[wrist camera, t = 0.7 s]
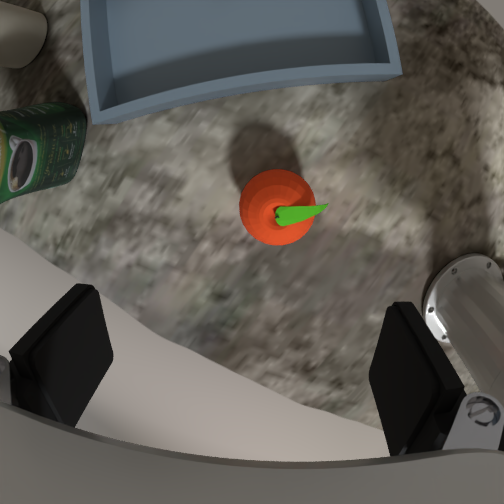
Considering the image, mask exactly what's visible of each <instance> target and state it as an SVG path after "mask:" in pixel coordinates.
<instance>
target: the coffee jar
mask: <svg viewBox="0 0 504 504" xmlns="http://www.w3.org/2000/svg"><path fill="white" fill-rule="evenodd" d="M86 130H87V122H86V118H85V116H84V114H83V112H82V111H81V110H80V109H79V108H77V107H75V106H73V105H70V104H67V103H61V102H51V103H43V104H37V105H32V106H27V107H23V108H18V109H13V110H7V111H0V204H1V203H3V202H5V201H7V200H10V199H12V198H15V197H18V196H21V195H24V194H28V193H31V192H35V191H40V190H44V189H49V188H53V187H57V186H60V185H64V184H66V183H68V182H70V181H71V180H72V179H73V177H74V176H75V174H76V172H77V169H78V166H79V163H80V160H81V156H82V152H83V147H84V142H85V137H86Z"/></svg>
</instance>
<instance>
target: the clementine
mask: <svg viewBox="0 0 504 504" xmlns="http://www.w3.org/2000/svg"><path fill="white" fill-rule="evenodd" d="M328 204H329V203H328ZM328 204H325V205H317V206H316V202H315V198H314V194H313V191H312V190H311V188H310V186H309V185H308V183H307V182H306V181H305V180H304V179H303V178H302V177H300V176H299V175H297V174H295V173H293V172H291V171H287V170H283V169H271V170H267V171H264V172H261V173H259V174H258V175H256V176H254V177H253V178H252V179H251V180H250V181H249V182H248V183H247V184H246V186H245V188H244V189H243V191H242V193H241V197H240V202H239V208H240V217H241V220H242V223H243V225H244V226H245V228H246V229H247V231H248V232H249V233H250V234H251V235H252V236H253V237H254V238H255V239H257V240H259V241H261V242H263V243H266V244H270V245H285V244H289V243H293V242H294V241H296V240H298V239H300V238H301V237H302V236H303V235H304V234H305V233H306V232H307V231H308V230H309V228H310V227H311V225H312V223H313V220H314V217H315V215H316V214H318V213H320V212H321V211H323V210H324V209H325V208H326V207H327V205H328Z"/></svg>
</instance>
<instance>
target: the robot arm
mask: <svg viewBox="0 0 504 504" xmlns="http://www.w3.org/2000/svg"><path fill="white" fill-rule="evenodd" d="M436 339H437V340H439V341H441V342H447V343H451V344H452V346H453V347H454V349H455V350H456V352H457V354H458V355H459V357H460V358H461V360H462V361H463V363H464V365H465V366H466V368H467V369H468V371H469V373H470V374H471V376H472V378H473V379H474V381H475V383H476V384H477V386H478V388H479V389H480V391H481V392H474V393H471V394H468V395H466V393H465V391H464V385H463V383H462V381H461V380H460V378H459V376H458V374H457V373H456V371H455V369H454V368H453V366H452V364H451V363H450V361H449V359H448V358H447V356H446V354H445V353H444V351H443V349H442V348H441V346H440V345H439V343H438V341H437V340H436ZM9 353H10V355H11V357H12V360H11V361H10V362H9V361H8V360H7V359H6V358H5V357H3V356H1V355H0V504H504V281H503V276H502V273H501V270H500V268H499V267H498V265H497V264H496V263H495V262H494V261H493V260H492V259H491V258H489V257H488V256H486V255H483V254H478V253H472V254H466V255H463V256H461V257H458V258H457V259H455V260H453V261H452V262H450V263H449V264H448V265H447V266H445V267H444V268H443V269H442V270H441V271H440V272H439V274H438V275H437V276H436V277H435V279H434V280H433V282H432V283H431V285H430V287H429V289H428V291H427V293H426V296H425V299H424V304H423V318H422V316H421V315H420V313H419V312H418V310H417V309H416V307H415V306H414V304H413V303H412V302H394V303H393V304H392V306H389V307H388V308H387V310H386V314H385V318H384V321H383V325H382V329H381V333H380V336H379V340H378V343H377V347H376V350H375V353H374V357H373V360H372V363H371V367H370V370H369V382H370V385H371V388H372V392H373V395H374V398H375V402H376V405H377V409H378V412H379V416H380V419H381V423H382V427H383V430H384V434H385V438H386V441H387V445H388V449H389V453H390V457H381V458H370V459H359V460H345V461H321V462H278V461H276V462H275V461H255V460H240V459H228V458H218V457H209V456H202V455H194V454H187V453H181V452H175V451H169V450H163V449H158V448H153V447H148V446H143V445H138V444H134V443H129V442H125V441H120V440H117V439H113V438H108V437H105V436H102V435H98V434H94V433H91V432H87V431H84V430H81V429H77V428H75V426H76V424H77V422H78V420H79V419H80V417H81V415H82V413H83V411H84V410H85V408H86V406H87V404H88V403H89V401H90V399H91V397H92V396H93V394H94V392H95V391H96V389H97V387H98V385H99V384H100V382H101V380H102V379H103V377H104V375H105V374H106V372H107V370H108V368H109V367H110V365H111V363H112V361H113V350H112V347H111V343H110V339H109V335H108V331H107V327H106V322H105V318H104V314H103V309H102V305H101V300H100V295H99V292H98V290H95V288H94V286H93V285H88V284H76V285H74V286H73V287H72V288H71V289H70V290H69V291H68V292H67V293H66V294H65V295H64V296H63V297H62V298H61V299H60V300H59V301H57V302H56V304H54V305H53V306H52V307H51V308H50V309H49V310H48V311H47V312H46V314H44V315H43V316H42V317H41V318H40V319H39V320H38V321H37V322H36V323H35V324H34V325H33V326H32V327H31V328H30V329H29V330H28V331H27V332H26V334H25V335H24V336H23V337H22V338H21V339H20V340H19V341H18V342H17V343H16V344H15V345H14V346H13V347H12V348H11V349H10V350H9Z"/></svg>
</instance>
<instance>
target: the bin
mask: <svg viewBox="0 0 504 504" xmlns="http://www.w3.org/2000/svg"><path fill="white" fill-rule="evenodd" d="M80 2H81V26H82V41H83V53H84V64H85V73H86V82H87V90H88V97H89V104H90V111H91V117H92V123H93V125H95V124H117V123H120V122H123V121H127V120H130V119H133V118H137V117H140V116H144V115H147V114H151V113H155V112H159V111H162V110H166V109H170V108H175V107H179V106H183V105H187V104H192V103H196V102H201V101H206V100H211V99H216V98H221V97H226V96H232V95H237V94H243V93H250V92H256V91H263V90H270V89H278V88H286V87H295V86H304V85H315V84H328V83H344V82H369V81H387V80H389V79H392V78H395V77H397V76H400V75H403V73H402V67H401V62H400V57H399V52H398V47H397V42H396V38H395V33H394V29H393V25H392V21H391V17H390V13H389V9H388V5H387V2H386V0H80Z"/></svg>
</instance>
